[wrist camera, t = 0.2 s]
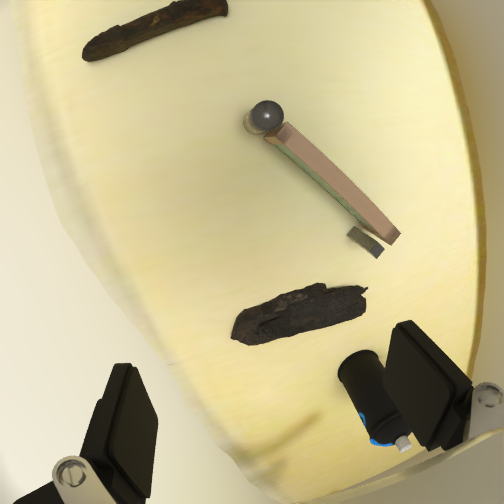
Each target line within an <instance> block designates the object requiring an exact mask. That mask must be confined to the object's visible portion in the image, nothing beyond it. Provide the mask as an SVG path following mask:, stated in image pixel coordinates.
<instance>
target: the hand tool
mask: <svg viewBox="0 0 504 504" xmlns="http://www.w3.org/2000/svg"><path fill="white" fill-rule="evenodd" d="M227 13H228V4H227V1H226V0H181V1H177V2H175V1H173V2H172V3H171V4H170V5H169V6H167V7H164V8H162V9H159V10H157V11H154V12H151V13H149V14H147V15H144V16H142V17H140V18H138V19H136V20H134V21H132V22H129V23H127V24H124V25H122V26H119V25H116V26H114V27H112V28H110V29H108V30H107V31H105V32H102V33H100V34H99V35H98V36H95V37H94V38H93V39H92V40H90V41H89V42H88V43H87V44H86V46H85V47H84V49H83V52H82V58H83V60H85V61H87V62H90V61H96V60H99V59H102V58H105V57H109V56H111V55H114V54H117V53H120V52H123V51H125V50H127V49H128V47H129V46H131V45H133V44H135V43H138V42H140V41H143V40H145V39H148V38H150V37H153V36H156V35H159V34H162V33H164V32H166V31H168V30H171V29H174V28H177V27H180V26H184V25H187V24H191V23H193V22H195V21H198V20H201V19H204V18H207V17H210V16H214V15H223V16H227Z"/></svg>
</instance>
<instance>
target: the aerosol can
mask: <svg viewBox="0 0 504 504" xmlns="http://www.w3.org/2000/svg"><path fill="white" fill-rule="evenodd" d="M384 370H385V368H384V367H383V365H382V364H381V362H380V361H379V358H378V356H377V354H376V353H375V352H373V351H370V350H362V351H359V352H356V353H354V354H352V355H350V356H349V357H348V358H347V359H346V360H345V361H344V362H343V363H342V364H341V366H340V368H339V370H338V378H339V380H340V381H341V382H342V383H343V385H344V387H345V389H346V390H347V392H348V394H349V396H350V398H351V400H352V402H353V404H354V406H355V408H356V410H357V412H358V414H359V416H360V418H361V420H362V422H363V424H364V426H365V428H366V430H367V432H368V434H369V436H370V442H371V443H372V444H373V445H379V446H391V445H395V444H396V445H397V447H398V449H399V451H400V452H405V451H407V450H408V449H410V448H411V446H412V444H411V443H410V441H409V439H408V436H409V435H410V433H411V432H412V431H411V429H410V427H409V426H408V424H407V423H406V421H405V420H404V418H403V416H402V415H401V413H400V412H399V410H398V409H397V407H396V405H395V404H394V402H393V401H392V399H391V398H390V396H389V395H388V393H387V392H386V390H385V388H384V386H383V383H382V380H383V375H384Z"/></svg>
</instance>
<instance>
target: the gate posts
mask: <svg viewBox="0 0 504 504" xmlns="http://www.w3.org/2000/svg"><path fill="white" fill-rule="evenodd" d="M283 119H284V113H283V110H282V108H281V107H280V105H278V104H277V103H276V102H274V101H269V100H266V101H262V102H260V103H258V104H257V105H256V106H255V107H254V108H253V109H252V110H251V111H249V112H248V113H247V114H246V116H245V118H244V126H245V128H246V130H247V131H249V132H250V133H253V134H258V133H262V132H267V131H271V130H274V129H276V128H278V127H279V126H280V125H281V124H282V122H283ZM347 236H349V237H350V238H351V239H352V240H353V241H354V242H355V243H357V244H358V245H359V246H361V247H362V248H363V249H364V250H366V251H367V252H368V253H370V254H371V255H372V256H373V257H375V258H376V259H377V258H378V257H379V256H380V254H381V253H382V252H383V251H384V248H383V247H382V246H381V245H380V244H379V243H378V242H377V241H376V240H374V239H373V238H371V237H370V236H368V235H367V234H365V233H364V232H362V231H361V230H359V229H357V228H356V227H353V228H352V229H351V230H350V232H349V233H348V234H347Z"/></svg>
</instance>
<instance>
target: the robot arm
mask: <svg viewBox="0 0 504 504" xmlns="http://www.w3.org/2000/svg"><path fill="white" fill-rule="evenodd" d="M382 383H383V386H384V388H385V390H386V392H387V393H388V395H389V396H390V398H391V399H392V401H393V402H394V404H395V405H396V407H397V409H398V410H399V412H400V413H401V415H402V416H403V418H404V420H405V421H406V423H407V424H408V426H409V427H410V429H411V431H412V432H413V434H414V435H415V437H416V439H417V440H418V442H419V443H420V445H421V446H423V447H424V446H425V447H426V449H427V450H428V452H429V451H431V450H434V449H436V448H438V447H440V446H441V447H442V449H443V453H441V454H439V455H437V456H435V457H433V458H431V459H428V460H426V461H424V462H422V463H420V464H417V465H415V466H413V467H411V468H408V469H406V470H403V471H401V472H399V473H396V474H393V475H391V476H388V477H385V478H383V479H380V480H377V481H374V482H371V483H369V484H366V485H363V486H360V487H357V488H353V489H350V490H347V491H343V492H340V493H336V494H332V495H328V496H324V497H320V498H316V499H312V500H308V501H303V502H298V503H293V504H504V390H503V389H502V388H501V387H499V386H498V385H496V384H494V383H490V382H484V383H480V384H478V385H477V386H476V387H475V388H474V387H473V386H472V381H471V380H470V379H469V378H468V377H467V376H466V375H465V374H464V373H463V372H462V371H461V370H460V369H459V367H458V366H457V365H456V364H455V363H454V362H453V361H452V360H451V359H450V358H449V357H448V356H447V355H446V354H445V353H444V352H443V351H442V350H441V349H440V348H439V347H438V346H437V345H436V344H435V343H434V342H433V341H432V340H431V339H430V338H429V337H428V336H427V335H426V334H425V333H424V332H423V331H422V330H421V329H420V328H419V327H418V326H417V325H416V324H415V323H414V322H413V321H412V320H407V321H404V322H400V323H397V324H396V326H395V328H393V330H392V334H391V340H390V345H389V351H388V356H387V361H386V365H385V370H384V375H383V380H382ZM157 430H158V417H157V414H156V412H155V410H154V408H153V406H152V403H151V401H150V399H149V396H148V394H147V392H146V389H145V386H144V384H143V381H142V379H141V376H140V374H139V371H138V369H137V367H133V366H132V364H131V363H117V364H114V366H113V369H112V372H111V374H110V377H109V380H108V383H107V385H106V388H105V391H104V394H103V397H102V399H99V400H98V401H97V403H96V406H95V409H94V412H93V415H92V418H91V421H90V424H89V427H88V430H87V433H86V436H85V439H84V442H83V445H82V449H81V452H80V455H79V456H68V457H65V458H63V459H61V460H60V461H58V462H57V464H56V465H55V466H54V468H53V471H52V478H53V481H51V482H50V483H48V484H46V485H44V486H42V487H40V488H38V489H37V490H35V491H33V492H31V493H29V494H27V495H25V496H23V497H21V498H20V499H18V500H16V501H15V502H14V503H13V504H145V502H146V498H150V494H151V484H152V474H153V464H154V455H155V445H156V437H157Z"/></svg>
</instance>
